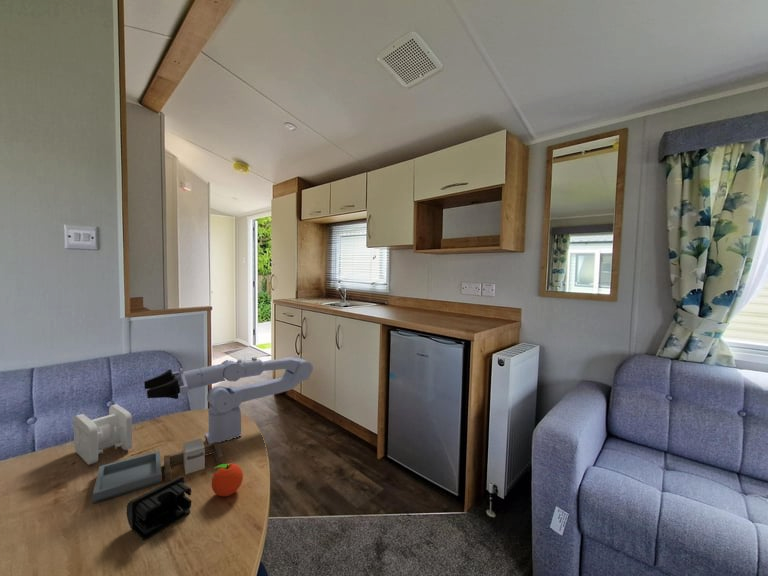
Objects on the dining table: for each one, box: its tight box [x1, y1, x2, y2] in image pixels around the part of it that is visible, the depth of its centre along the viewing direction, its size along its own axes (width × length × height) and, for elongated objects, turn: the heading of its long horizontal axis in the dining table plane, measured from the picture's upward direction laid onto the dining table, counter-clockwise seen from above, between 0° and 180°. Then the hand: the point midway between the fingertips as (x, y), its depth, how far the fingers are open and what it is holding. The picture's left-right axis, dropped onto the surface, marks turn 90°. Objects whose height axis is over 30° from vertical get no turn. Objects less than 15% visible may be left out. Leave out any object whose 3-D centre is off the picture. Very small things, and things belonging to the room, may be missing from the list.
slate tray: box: [92, 450, 162, 505], centre depth 82 cm, size 13×13×2 cm
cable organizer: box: [72, 403, 133, 465], centre depth 93 cm, size 15×11×12 cm
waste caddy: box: [182, 437, 206, 475], centre depth 87 cm, size 4×7×6 cm, turn 37°
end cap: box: [126, 476, 193, 541], centre depth 69 cm, size 10×7×7 cm
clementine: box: [211, 463, 244, 497], centre depth 77 cm, size 8×7×7 cm
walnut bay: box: [163, 442, 224, 484], centre depth 88 cm, size 13×9×2 cm
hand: (145, 389), depth 90 cm, fingers open, 7 cm apart
